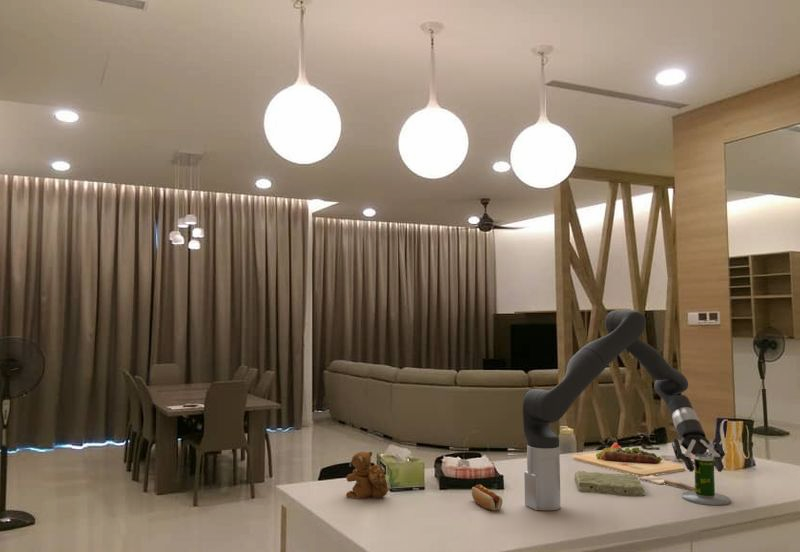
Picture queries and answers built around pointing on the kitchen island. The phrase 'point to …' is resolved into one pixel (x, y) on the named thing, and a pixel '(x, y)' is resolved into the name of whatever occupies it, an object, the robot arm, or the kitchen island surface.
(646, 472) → the cutting board
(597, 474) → the decorative tile
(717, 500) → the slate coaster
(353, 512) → the kitchen island surface
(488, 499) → the food
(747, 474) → the kitchen island surface
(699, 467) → the beer can
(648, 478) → the beech turner
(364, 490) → the stuffed squirrel
